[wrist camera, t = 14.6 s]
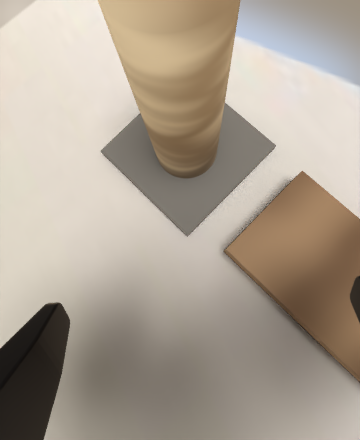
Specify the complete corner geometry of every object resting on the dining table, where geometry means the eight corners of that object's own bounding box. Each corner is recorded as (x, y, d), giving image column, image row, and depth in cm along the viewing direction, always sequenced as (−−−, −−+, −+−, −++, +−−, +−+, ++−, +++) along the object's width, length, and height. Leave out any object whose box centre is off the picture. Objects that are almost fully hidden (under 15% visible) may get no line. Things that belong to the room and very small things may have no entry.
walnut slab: (438, 305, 18) (468, 310, 16) (366, 388, 17) (387, 404, 15) (291, 180, 20) (302, 170, 18) (223, 251, 19) (226, 249, 17)
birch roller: (172, 188, 20) (129, 59, 8) (146, 137, 21) (69, -55, 8) (227, 161, 20) (274, -11, 8) (200, 111, 21) (201, -118, 8)
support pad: (187, 236, 20) (187, 235, 19) (102, 153, 21) (100, 151, 21) (274, 147, 20) (276, 145, 20) (186, 73, 22) (186, 69, 21)
